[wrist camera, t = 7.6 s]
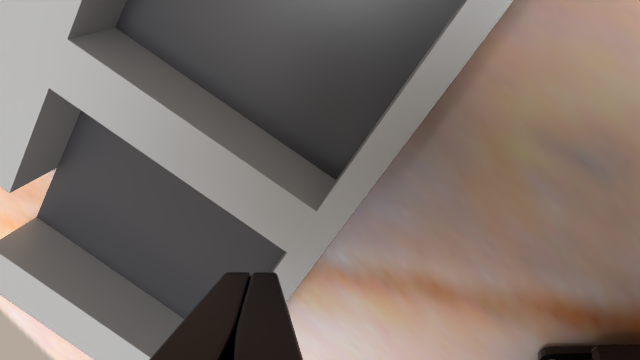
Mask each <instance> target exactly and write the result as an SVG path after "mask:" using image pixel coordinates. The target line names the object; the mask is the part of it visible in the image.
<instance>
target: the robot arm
mask: <svg viewBox="0 0 640 360" xmlns="http://www.w3.org/2000/svg"><path fill="white" fill-rule="evenodd" d="M550 359H554V360H640V344H630V345H599V346H572V347H548V348H544V349H542V350H541V351H540V352H539V353H538V360H550ZM149 360H303V358H302V355H301V352H300V348H299V345H298V341H297V338H296V335H295V331H294V328H293V325H292V321H291V318H290V315H289V311H288V308H287V305H286V301H285V298H284V295H283V291H282V288H281V285H280V281H279V278H278V275H277V274H276V273H275V272H254V273H253V274H252V275H251V274H250V273H249V272H227V273H225V274H224V275H223V276H222V277H221V278H220V279H219V280H218V281H217V282H216V284H215V285H214V286H213V287H212V288H211V289H210V290H209V292H208V293H207V294H206V295H205V296H204V297H203V298H202V300H201V301H200V302H199V303H198V304H197V305H196V306H195V308H194V309H193V310H192V311H191V312H190V313H189V314H188V316H187V317H186V318H185V319H184V320H183V321H182V322H181V324H180V325H179V326H178V327H177V328H176V329H175V330H174V332H173V333H172V334H171V335H170V336H169V337H168V338H167V340H166V341H165V342H164V343H163V344H162V345H161V346H160V348H159V349H158V350H157V351H156V352H155V353H154V354H153V356H152V357H151V358H150V359H149Z"/></svg>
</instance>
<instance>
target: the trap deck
mask: <svg viewBox="0 0 640 360" xmlns="http://www.w3.org/2000/svg"><path fill="white" fill-rule="evenodd" d="M512 2H513V0H0V187H2V188H3V189H4V190H6V191H7V192H9V193H10V192H12V191H14V190H16V189H18V188H20V187H22V186H24V185H25V184H27V183H29V182H31V181H33V180H35V179H37V178H38V177H40V176H42V175H44V174H46V173H48V172H50V171H52V170H53V169H55V168H57V169H56V172H55V174H54V177H53V179H52V181H51V184H50V186H49V189H48V191H47V193H46V196H45V198H44V201H43V203H42V206H41V208H40V210H39V213H38V215H37V217H36V218H35V219H33V220H31V221H30V222H28V223H26V224H25V225H23V226H22V227H20V228H18V229H17V230H15V231H14V232H12V233H10V234H9V235H7V236H6V237H4V238H2V239H1V240H0V295H1V296H3V297H4V298H6V299H7V300H8V301H10V302H11V303H13V304H14V305H16V306H17V307H19V308H20V309H21V310H23V311H24V312H26V313H27V314H29V315H30V316H32V317H33V318H34V319H36V320H37V321H39V322H40V323H42V324H43V325H45V326H46V327H48V328H49V329H50V330H52V331H53V332H55V333H56V334H58V335H59V336H61V337H62V338H63V339H65V340H66V341H68V342H69V343H71V344H72V345H74V346H75V347H77V348H78V349H79V350H81V351H82V352H84V353H85V354H87V355H88V356H90V357H91V358H92V359H94V360H149V359H150V358H151V357H152V356H153V354H154V353H155V352H156V351H157V350H158V349H159V348H160V346H161V345H162V344H163V343H164V342H165V341H166V340H167V338H168V337H169V336H170V335H171V334H172V333H173V332H174V330H175V329H176V328H177V327H178V326H179V325H180V324H181V322H182V321H183V320H184V319H185V318H186V317H187V316H188V314H189V313H190V312H191V311H192V310H193V309H194V308H195V306H196V305H197V304H198V303H199V302H200V301H201V300H202V298H203V297H204V296H205V295H206V294H207V293H208V292H209V290H210V289H211V288H212V287H213V286H214V285H215V284H216V282H217V281H218V280H219V279H220V278H221V277H222V276H223V275H224V274H225V273H227V272H249V273H250V274H251V275H252V274H253V273H254V272H275V273H276V274H277V275H278V278H279V281H280V285H281V288H282V291H283V295H284V298H285V301H286V302H287V300H288V299H289V298H290V296H291V295H292V294H293V292H294V291H295V290H296V288H297V287H298V286H299V284H300V283H301V282H302V280H303V279H304V278H305V276H306V275H307V274H308V272H309V271H310V270H311V269H312V267H313V266H314V265H315V263H316V262H317V261H318V259H319V258H320V257H321V255H322V254H323V253H324V251H325V250H326V249H327V247H328V246H329V245H330V243H331V242H332V241H333V239H334V238H335V237H336V235H337V234H338V233H339V231H340V230H341V229H342V227H343V226H344V225H345V223H346V222H347V221H348V219H349V218H350V217H351V215H352V214H353V213H354V211H355V210H356V209H357V207H358V206H359V205H360V203H361V202H362V201H363V199H364V198H365V197H366V195H367V194H368V193H369V192H370V190H371V189H372V188H373V186H374V185H375V184H376V182H377V181H378V180H379V178H380V177H381V176H382V174H383V173H384V172H385V170H386V169H387V168H388V166H389V165H390V164H391V162H392V161H393V160H394V158H395V157H396V156H397V154H398V153H399V152H400V150H401V149H402V148H403V146H404V145H405V144H406V142H407V141H408V140H409V138H410V137H411V136H412V134H413V133H414V132H415V130H416V129H417V128H418V126H419V125H420V124H421V122H422V121H423V120H424V119H425V117H426V116H427V115H428V113H429V112H430V111H431V109H432V108H433V107H434V105H435V104H436V103H437V101H438V100H439V99H440V97H441V96H442V95H443V93H444V92H445V91H446V89H447V88H448V87H449V85H450V84H451V83H452V81H453V80H454V79H455V77H456V76H457V75H458V73H459V72H460V71H461V69H462V68H463V67H464V65H465V64H466V63H467V61H468V60H469V59H470V57H471V56H472V55H473V53H474V52H475V51H476V49H477V48H478V47H479V46H480V44H481V43H482V42H483V40H484V39H485V38H486V36H487V35H488V34H489V32H490V31H491V30H492V28H493V27H494V26H495V24H496V23H497V22H498V20H499V19H500V18H501V16H502V15H503V14H504V12H505V11H506V10H507V8H508V7H509V6H510V4H511V3H512Z"/></svg>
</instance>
